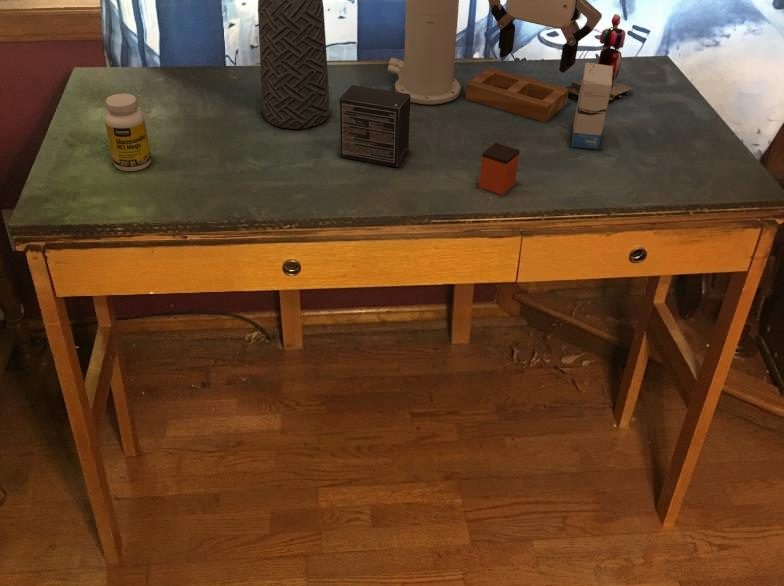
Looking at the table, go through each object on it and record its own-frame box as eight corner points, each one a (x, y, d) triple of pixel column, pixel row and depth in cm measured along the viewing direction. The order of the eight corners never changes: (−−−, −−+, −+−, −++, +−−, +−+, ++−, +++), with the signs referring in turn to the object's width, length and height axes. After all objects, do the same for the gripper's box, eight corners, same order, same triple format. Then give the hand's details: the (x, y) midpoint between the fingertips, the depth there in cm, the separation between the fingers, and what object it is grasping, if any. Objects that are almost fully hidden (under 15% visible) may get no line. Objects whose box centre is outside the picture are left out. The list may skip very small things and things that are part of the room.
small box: (410, 151, 148) (412, 92, 140) (398, 169, 143) (400, 108, 136) (352, 141, 150) (352, 82, 143) (339, 157, 145) (338, 98, 138)
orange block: (478, 187, 139) (482, 153, 135) (491, 176, 142) (495, 142, 138) (502, 195, 138) (507, 161, 133) (515, 184, 140) (519, 150, 136)
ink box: (599, 150, 149) (613, 84, 141) (570, 147, 150) (582, 81, 142) (600, 128, 155) (613, 64, 147) (572, 125, 156) (584, 61, 148)
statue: (589, 85, 172) (608, 5, 163) (629, 98, 167) (651, 17, 158) (558, 94, 165) (576, 11, 156) (599, 109, 160) (620, 24, 151)
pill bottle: (119, 175, 140) (105, 110, 132) (109, 159, 144) (95, 95, 136) (156, 167, 142) (145, 103, 134) (146, 151, 146) (134, 88, 138)
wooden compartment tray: (545, 122, 157) (547, 106, 155) (465, 99, 163) (466, 83, 161) (566, 104, 162) (569, 88, 160) (488, 82, 169) (490, 67, 167)
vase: (251, 122, 154) (235, -48, 135) (282, 96, 162) (271, -68, 143) (312, 135, 151) (305, -37, 132) (340, 108, 159) (337, -58, 140)
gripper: (623, -61, 114) (599, 66, 126) (507, -82, 121) (494, 41, 133) (602, -47, 110) (579, 84, 121) (482, -70, 116) (471, 57, 128)
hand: (535, 61), depth 127 cm, fingers open, 9 cm apart
